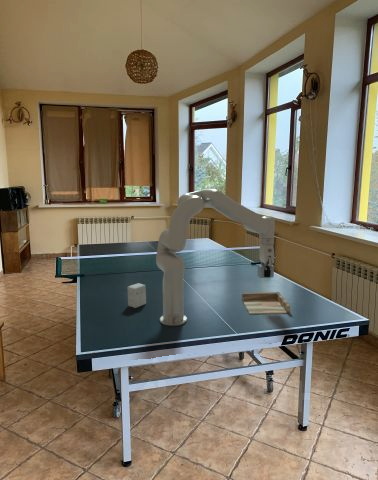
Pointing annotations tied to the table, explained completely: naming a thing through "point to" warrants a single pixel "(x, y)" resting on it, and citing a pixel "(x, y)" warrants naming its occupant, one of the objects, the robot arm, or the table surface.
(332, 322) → the table surface
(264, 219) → the robot arm
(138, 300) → the small box
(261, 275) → the grey block
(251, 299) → the wooden tray
